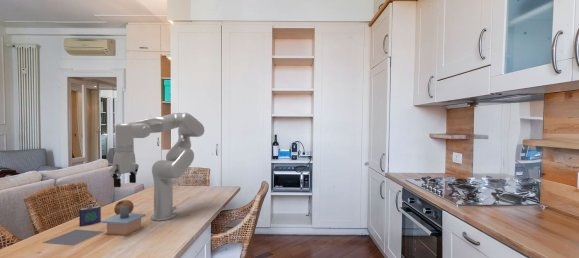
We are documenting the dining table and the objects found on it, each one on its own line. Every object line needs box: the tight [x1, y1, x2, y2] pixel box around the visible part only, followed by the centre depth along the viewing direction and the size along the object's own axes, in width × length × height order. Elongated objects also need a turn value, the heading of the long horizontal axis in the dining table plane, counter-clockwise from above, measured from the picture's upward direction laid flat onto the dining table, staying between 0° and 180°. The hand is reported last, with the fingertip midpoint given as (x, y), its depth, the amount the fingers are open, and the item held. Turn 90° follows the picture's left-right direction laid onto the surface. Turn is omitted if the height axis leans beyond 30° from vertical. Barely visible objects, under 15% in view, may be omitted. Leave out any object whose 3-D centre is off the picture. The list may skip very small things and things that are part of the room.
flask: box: [78, 204, 102, 228], centre depth 145 cm, size 9×3×11 cm, turn 138°
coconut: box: [113, 199, 135, 215], centre depth 160 cm, size 10×9×10 cm
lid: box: [101, 206, 147, 224], centre depth 136 cm, size 13×13×6 cm
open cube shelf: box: [106, 218, 142, 237], centre depth 135 cm, size 10×10×6 cm
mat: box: [42, 229, 104, 246], centre depth 128 cm, size 16×16×1 cm
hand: (125, 184), depth 136 cm, fingers open, 9 cm apart
